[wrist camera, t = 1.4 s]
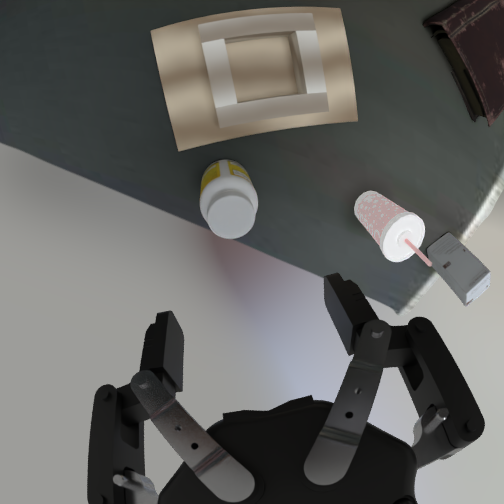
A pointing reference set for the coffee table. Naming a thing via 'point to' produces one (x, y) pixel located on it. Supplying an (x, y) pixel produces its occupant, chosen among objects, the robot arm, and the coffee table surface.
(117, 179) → the coffee table surface
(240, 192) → the supplement bottle
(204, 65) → the socket board
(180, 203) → the coffee table surface
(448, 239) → the skincare box
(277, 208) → the coffee table surface
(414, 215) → the beverage cup
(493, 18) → the diary
